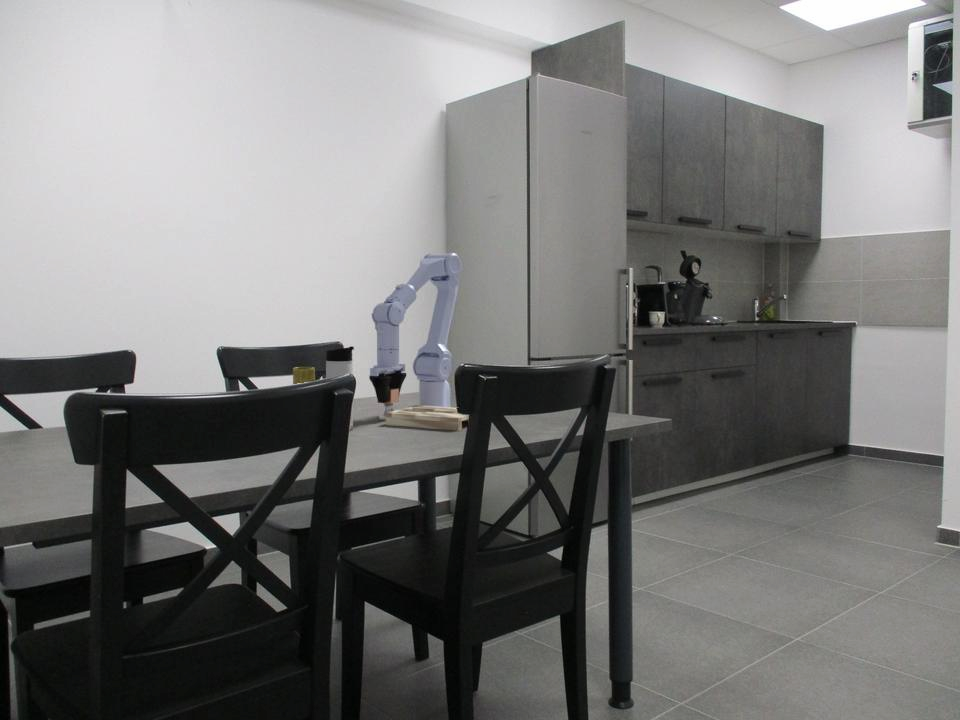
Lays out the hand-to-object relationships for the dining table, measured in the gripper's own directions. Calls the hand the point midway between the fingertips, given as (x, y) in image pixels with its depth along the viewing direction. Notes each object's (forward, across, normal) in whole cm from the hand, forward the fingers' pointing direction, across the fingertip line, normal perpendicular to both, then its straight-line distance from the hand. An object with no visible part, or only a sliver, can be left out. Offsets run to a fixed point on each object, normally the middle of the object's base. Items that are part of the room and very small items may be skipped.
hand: (388, 401), depth 208 cm
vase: (+5, +17, -14) cm, 23 cm away
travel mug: (+5, +19, -2) cm, 20 cm away
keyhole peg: (+5, 0, 0) cm, 5 cm away
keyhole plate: (+5, 0, +14) cm, 15 cm away
